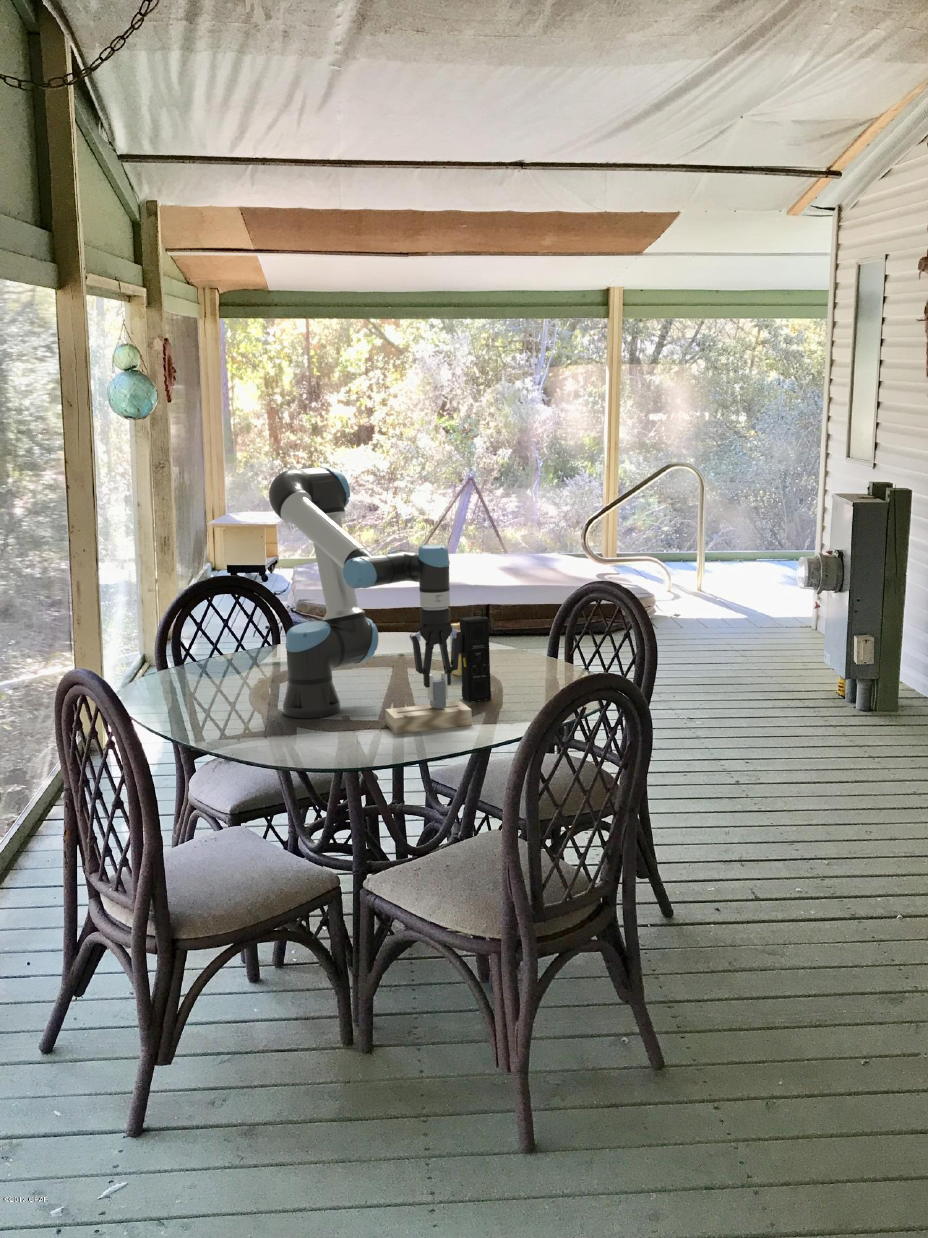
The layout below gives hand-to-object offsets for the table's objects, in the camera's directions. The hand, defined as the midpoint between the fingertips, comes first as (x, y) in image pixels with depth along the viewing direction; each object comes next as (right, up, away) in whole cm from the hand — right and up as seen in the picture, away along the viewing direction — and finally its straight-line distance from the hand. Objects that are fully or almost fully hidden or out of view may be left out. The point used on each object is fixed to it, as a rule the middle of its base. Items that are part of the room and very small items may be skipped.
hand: (437, 698), depth 291 cm
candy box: (+7, +4, +55) cm, 56 cm away
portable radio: (+10, -2, +24) cm, 26 cm away
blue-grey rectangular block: (0, -2, 0) cm, 2 cm away
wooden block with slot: (-2, -7, 0) cm, 7 cm away
